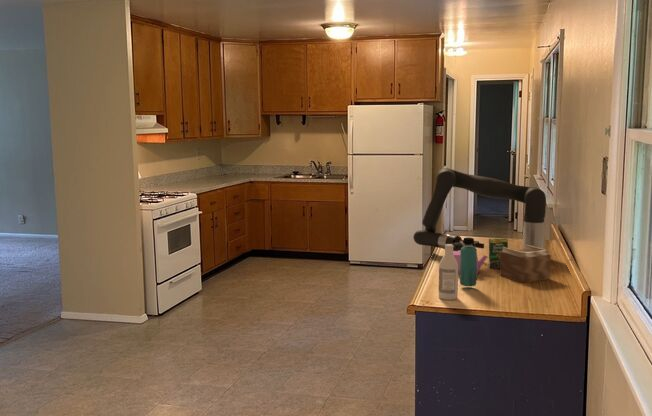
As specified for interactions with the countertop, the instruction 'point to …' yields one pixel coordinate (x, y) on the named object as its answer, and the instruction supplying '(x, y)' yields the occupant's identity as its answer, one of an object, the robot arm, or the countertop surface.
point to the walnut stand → (525, 264)
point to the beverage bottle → (468, 263)
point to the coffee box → (496, 251)
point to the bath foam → (448, 275)
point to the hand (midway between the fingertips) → (477, 247)
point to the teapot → (480, 262)
